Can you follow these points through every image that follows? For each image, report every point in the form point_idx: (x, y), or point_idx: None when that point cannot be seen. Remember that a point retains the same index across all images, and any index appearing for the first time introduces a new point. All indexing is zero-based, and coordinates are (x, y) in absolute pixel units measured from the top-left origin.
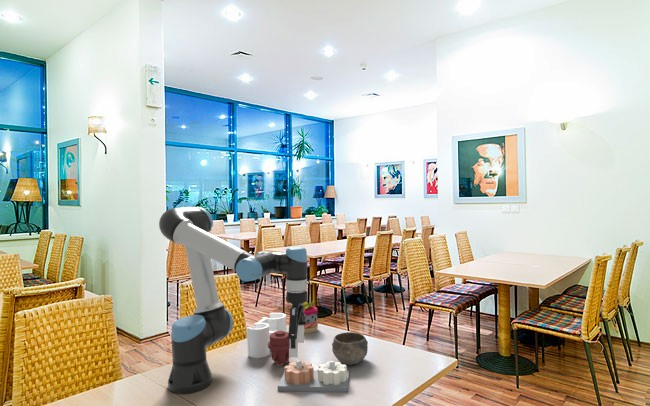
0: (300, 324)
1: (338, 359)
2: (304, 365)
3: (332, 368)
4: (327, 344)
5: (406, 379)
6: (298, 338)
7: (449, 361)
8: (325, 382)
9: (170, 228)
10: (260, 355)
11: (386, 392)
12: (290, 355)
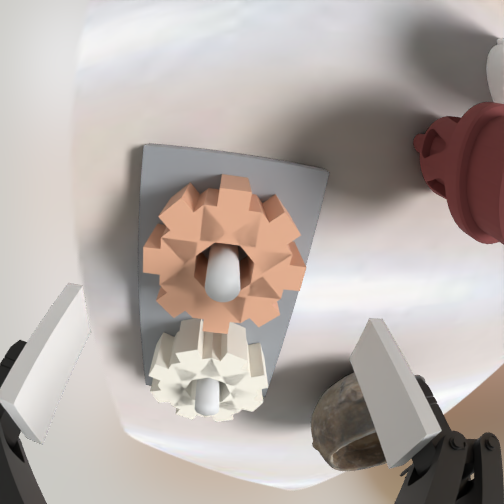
0: (421, 454)
1: (349, 378)
2: (240, 296)
3: (196, 391)
4: (493, 316)
5: (222, 458)
6: (375, 353)
7: (290, 489)
8: (159, 342)
9: None
10: (493, 78)
11: (157, 431)
12: (63, 296)
